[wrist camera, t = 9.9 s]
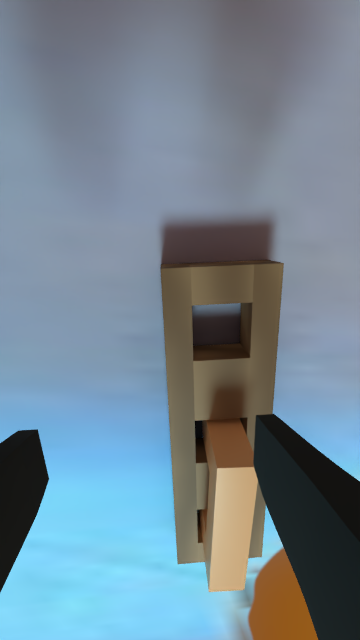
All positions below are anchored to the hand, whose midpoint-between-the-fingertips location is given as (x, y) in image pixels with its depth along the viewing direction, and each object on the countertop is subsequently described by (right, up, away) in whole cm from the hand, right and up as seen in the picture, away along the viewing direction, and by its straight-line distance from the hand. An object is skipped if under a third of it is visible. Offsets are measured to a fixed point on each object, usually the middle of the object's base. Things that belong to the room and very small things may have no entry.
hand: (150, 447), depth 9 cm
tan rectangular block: (+4, -7, +13) cm, 16 cm away
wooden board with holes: (+4, -3, +12) cm, 13 cm away
